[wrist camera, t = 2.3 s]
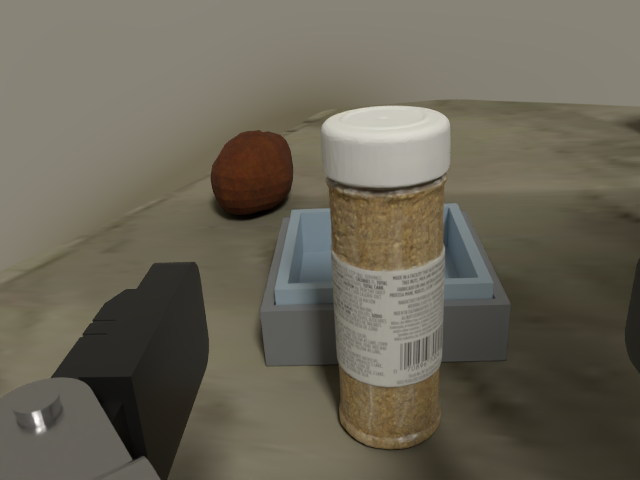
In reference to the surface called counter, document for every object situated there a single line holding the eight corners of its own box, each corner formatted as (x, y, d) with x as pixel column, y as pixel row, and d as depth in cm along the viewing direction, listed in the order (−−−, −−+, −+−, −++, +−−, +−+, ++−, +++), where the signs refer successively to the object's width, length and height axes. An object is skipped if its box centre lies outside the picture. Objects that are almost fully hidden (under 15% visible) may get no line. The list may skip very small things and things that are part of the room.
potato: (319, 195, 53) (315, 122, 51) (262, 236, 46) (254, 153, 43) (252, 186, 56) (245, 118, 54) (189, 224, 49) (177, 146, 46)
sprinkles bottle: (409, 375, 30) (410, 97, 24) (462, 435, 26) (478, 119, 20) (321, 402, 28) (301, 112, 23) (364, 470, 24) (352, 140, 19)
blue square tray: (287, 260, 42) (282, 206, 40) (463, 254, 41) (466, 199, 39) (266, 365, 31) (258, 297, 29) (506, 360, 30) (512, 289, 29)
